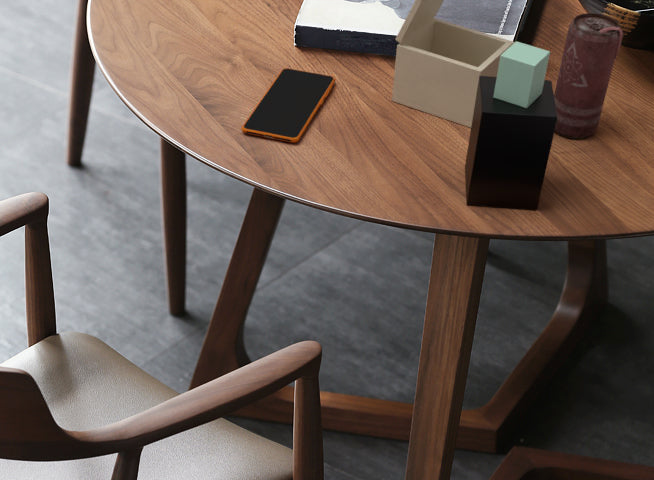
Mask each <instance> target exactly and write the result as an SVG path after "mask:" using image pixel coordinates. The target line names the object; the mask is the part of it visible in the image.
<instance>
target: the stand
mask: <svg viewBox="0 0 654 480" xmlns="http://www.w3.org/2000/svg"><path fill="white" fill-rule="evenodd" d="M496 79H497V77H490V76H479V82H478V88H477V94H476V101H475V107H474V113H473V119H472V126H471V128H470V132H469V139H468V145H467V151H466V158H465V163H464V177H465V178H464V179H465V195H466V196H465V200H466V206H471V207H472V206H474V207H485V208H500V209H513V210H528V211H538V208H539V203H540V199H541V195H542V190H543V185H544V180H545V177H546V176H545V175H546V172H547V166H548V164H549V163H548V162H549V158H550V154H551V149H552V148H551V147H552V144H553V140H554V135H555V132H554V131H555V126H556V122H557V111H556V105H555V100H554V89H553V83H552V80H547V79H545V80H544V85H543V90H542V94H541V95H540V96H539V97H538V98H537V99H536V100H535V101H534V102H533V103H532V104H531V105H530V106H529V107H528V108H524V107H521V106H518V105H515V104H512V103H509V102H506V101H503V100H499V99H496V98H494V97H493V96H494V91H495V85H496Z"/></svg>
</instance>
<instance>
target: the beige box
mask: <svg viewBox="0 0 654 480" xmlns="http://www.w3.org/2000/svg"><path fill="white" fill-rule="evenodd" d="M514 43H515V41H513V40H509V39H506V38H503V37H499V36H496V35H494V34H493V35H492V34H491V33H490V34H489V33H486V32H483V31H479V30H476V29H472V28H469V27H466V26H464V25H463V26H462V25H460V24H456V23H453V22H449V21H446V20H442V19H439V18H436V17H433V18H432V19H431V20H429V21H428V22H427V23H426V24H424V25H423V26H422V27H420V28H419V29H418V30H416V31H415V32H414V33H413V34H411V35H410V36H409V37H407V38H406V39H405V40H403V41H402V42H401V43H399V42H398V44H397V45H396V53H395V54H396V55H395V63H394V75H393V83H392V84H393V85H392V94H391V95H392V96H391V102H393V103H397V104H399V105H402V106H405V107H408V108H411V109H414V110H417V111H420V112H423V113H425V114H429V115H432V116H434V117H438V118H441V119H444V120H447V121H450V122H453V123H454V124H458V125H462V126H464V127H467V128H470V129H471V126H472V119H473V113H474V107H475V101H476V94H477V88H478V82H479V76H490V77H497V73H498V67H499V61H500V56H501V54H503V53H504V52H505V51H506V50H507V49H508V48H509V47H510V46H512V45H513V44H514Z"/></svg>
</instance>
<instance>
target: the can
mask: <svg viewBox="0 0 654 480" xmlns="http://www.w3.org/2000/svg"><path fill="white" fill-rule="evenodd" d="M623 36H624V34H623V29H621V25H620V22H619V21H617V20H616V19H615V18H613V17H611V16H608V15H606V14H602V13H595V12H594V13H593V12H590V13H589V12H588V13H587V12H586V13H581V14H579V15H576V16H575V17H573V20H572V21H571V23H570V24H568V29H567V34H566V38H565V42H564V46H563V47H564V48H563V51H562V56H561V61H560V66H559V71H558V74H557V80H556V84H555V89H554V92H553V94H554V100H555V105H556V111H557V122H556V126H555V131H554V134H556V135H559V136H561V137H563V138H567V139H572V140H581V139H586V138H589V137H591V136H592V135H593V134H594V133H595V132H596V131H598V127H599V123H600V119H601V115H602V111H603V107H604V104H605V100H606V96H607V91H608V88H609V83H610V79H611V75H612V73H613V72H612V71H613V68H614V63H615V60H617V57H618V55H619V52H620V50H621V49H620V48H621V46H622V41H623Z"/></svg>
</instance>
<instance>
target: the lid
mask: <svg viewBox="0 0 654 480" xmlns="http://www.w3.org/2000/svg"><path fill="white" fill-rule="evenodd" d="M444 1H445V0H414V3H413V4H412V6H411V8H410V10H409V11H408V14H407V16H406V18H405V20H404V22H403V23H402V25H401V27H400V30H399V31H398V33H397V35H396V37H395V41H396V42H397V43H398V44H399V43H401V42H402V41H403V40H405V39H406V38H407V37H409V36H410V35H411V34H413V33H414V32H415V31H416V30H418V29H419V28H420V27H422V26H423V25H424V24H426V23H427V22H428V21H429V20H431V19H432V18H436V16H437V14H438V12H439V11H440V9H441V7H442V5H443V3H444Z"/></svg>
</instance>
